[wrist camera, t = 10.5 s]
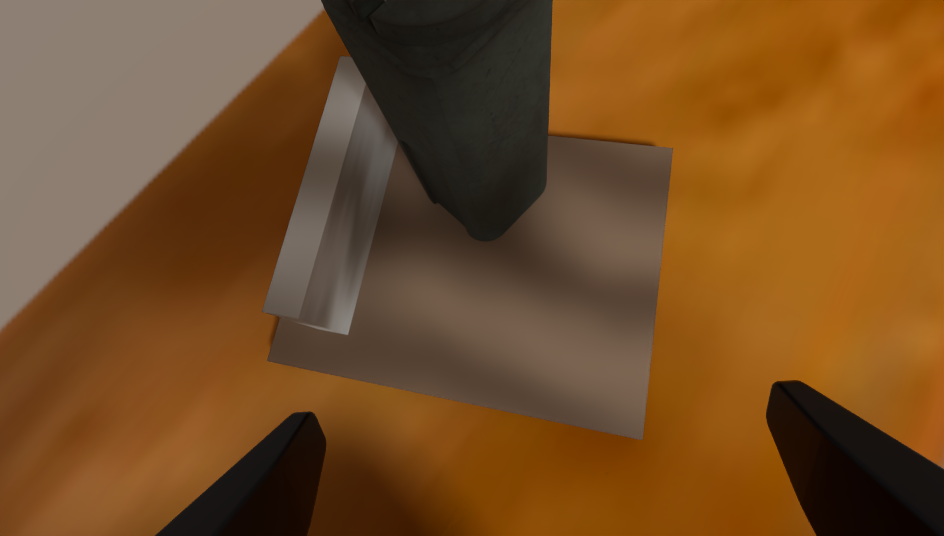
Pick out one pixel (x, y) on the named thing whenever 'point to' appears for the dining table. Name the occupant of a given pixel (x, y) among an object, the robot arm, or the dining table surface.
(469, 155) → the candle
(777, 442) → the robot arm
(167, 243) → the dining table surface
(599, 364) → the shelf board
